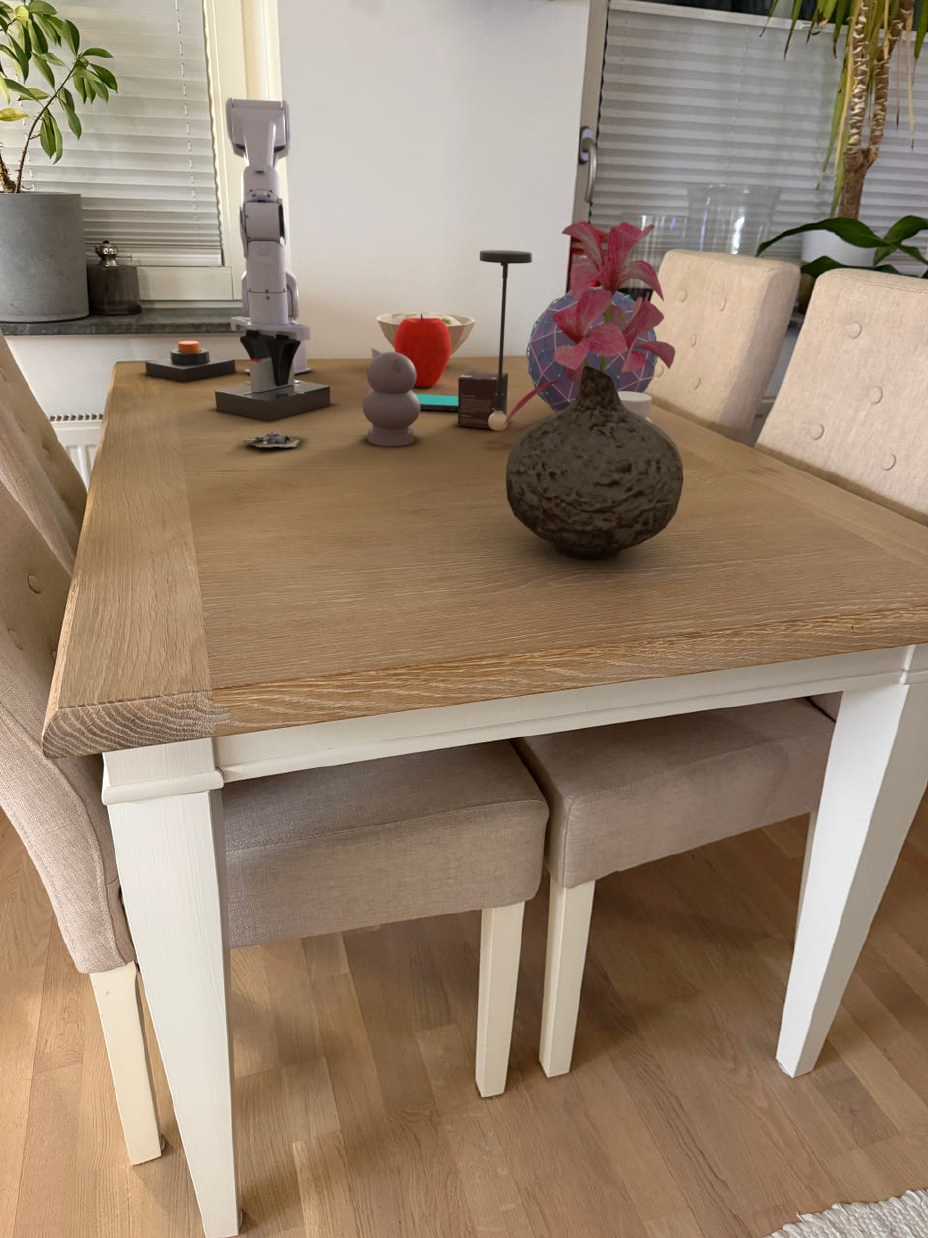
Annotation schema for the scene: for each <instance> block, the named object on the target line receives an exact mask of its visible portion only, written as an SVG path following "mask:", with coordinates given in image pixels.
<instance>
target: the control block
mask: <svg viewBox="0 0 928 1238" xmlns="http://www.w3.org/2000/svg"><path fill="white" fill-rule="evenodd" d="M199 348H200V352H193V353H183V352H179V347H177V348H173V349H171V350H170V351H169V353H170V354H169V355H170V357H166V358H162V359H161V358H159V359H153V360H149V361H144V364H145V372H146V373H145V374H146V375H148V376H153V377H158V378H162V379H167V380H173V381H179V382H183V383H187V382H192V381H197V380H201V379H202V380H203V379H207V378H211V377H218V376H221V375H226V374H227V375H228V374H232V373H236V371H237V370H236V360H235V359H232V358H226V357H222V356H216V355H210V351H209V349H207V348H203V347H199Z"/></svg>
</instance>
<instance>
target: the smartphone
mask: <svg viewBox="0 0 928 1238" xmlns="http://www.w3.org/2000/svg"><path fill="white" fill-rule="evenodd" d="M415 395H416V396H417V398H418V400H419V403H420V408H421V409H420V410H431V411H433V410H434V411H449V412H451V411H453V412H458V395H446V394H443V395H442V394H426V393H425V394H424V393H415Z"/></svg>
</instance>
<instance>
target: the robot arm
mask: <svg viewBox="0 0 928 1238" xmlns="http://www.w3.org/2000/svg"><path fill="white" fill-rule="evenodd" d="M224 104H225V120H226V121H225V122H226V133H227V139H228V140H229V145H230V149H231V150H232V154H234V155H235V156H238V157H240V158H243V159H244V161H245V164H246V166H245V167H244V168H243V170H242V171H241V175H240V184H241V186H240V187H241V205H238V224H239V235H240V239H241V243H242V248H243V251H242V252H243V258H244V259H245V263H244V264H245V271H244V272H242V276H241V280H240V281H241V290H240V291H241V306H242V316H234V317H230V319H229V320H230V330H231V331H232V332H244V333H245V334H244V335H241V336H240V337H239V341H240V344H241V345H242V346H243V347H244V349H245V351H246V353H247V355H248V357H249V359H250V360H251V359H264V358H269V357H271V360H272V365H273V374H274V381H275V385H276V386H284V385H288V380H289V375H290V370H291V365H292V362H293V363H294V375H296V374H302V373H305V372H311V368H310V367H308V362H307V341H309V340H311V327H310V326H309V325H304V324H300V323H299V322H298V321H297V320H298V319H299V317H300V307H299V288H298V281H297V277H296V275H295V273H294V272H293V271H291V269H289V268H288V267H286V255H285V254H286V252H285V246H286V244H287V239H288V236H287V235H288V234H287V220H286V219H287V218H286V209H285V206H284V205H285V204H284V201H283V198H282V186H281V185H282V184H281V181H282V180H281V176H280V174H279V172H278V171H277V166H278V164H279V160H281V159H284V158H287V157H288V156H289V154H290V150H291V141H292V135H291V115H290V112H291V111H290V105H289V103H288V102H287V100H285V99H282V101H281V100H261V99H244V98H243V99H242V98H241V99H240V98H232V97H228V98H227V100H226V101H225V103H224ZM281 238H282V239H283V242H284V245H283V244H282V243H281ZM244 373H246V374H250V368H246V369H244Z"/></svg>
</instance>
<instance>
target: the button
mask: <svg viewBox="0 0 928 1238" xmlns="http://www.w3.org/2000/svg"><path fill="white" fill-rule="evenodd" d="M177 344H178V345H177V346H178V348H179V352H183V353H193V352H200V348H201V347H200V342H199V341H196V340H183V341H179V342H178V343H177Z"/></svg>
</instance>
